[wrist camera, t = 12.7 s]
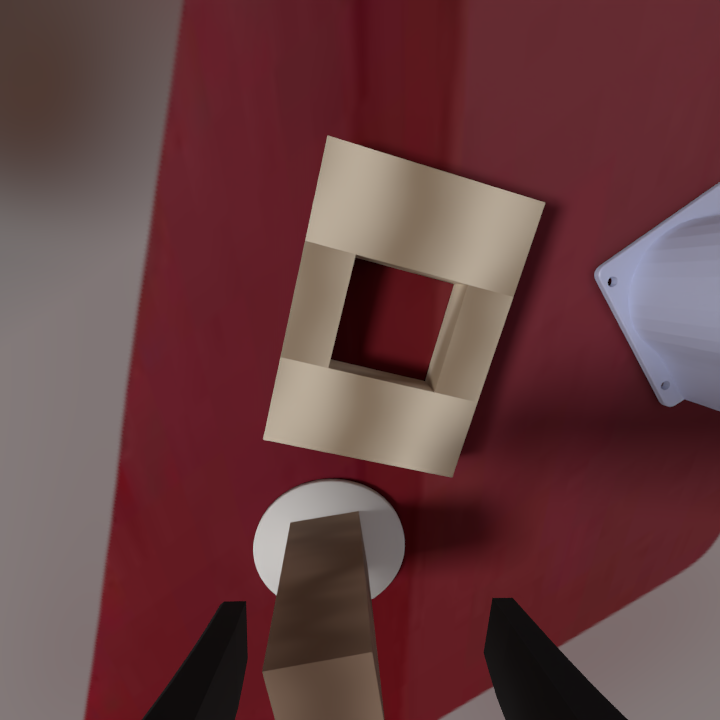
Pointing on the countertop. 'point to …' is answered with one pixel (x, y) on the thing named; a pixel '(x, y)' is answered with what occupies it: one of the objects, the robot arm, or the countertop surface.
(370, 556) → the coaster
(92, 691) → the countertop surface
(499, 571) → the countertop surface
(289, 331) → the holder block
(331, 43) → the countertop surface
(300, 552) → the plug peg
